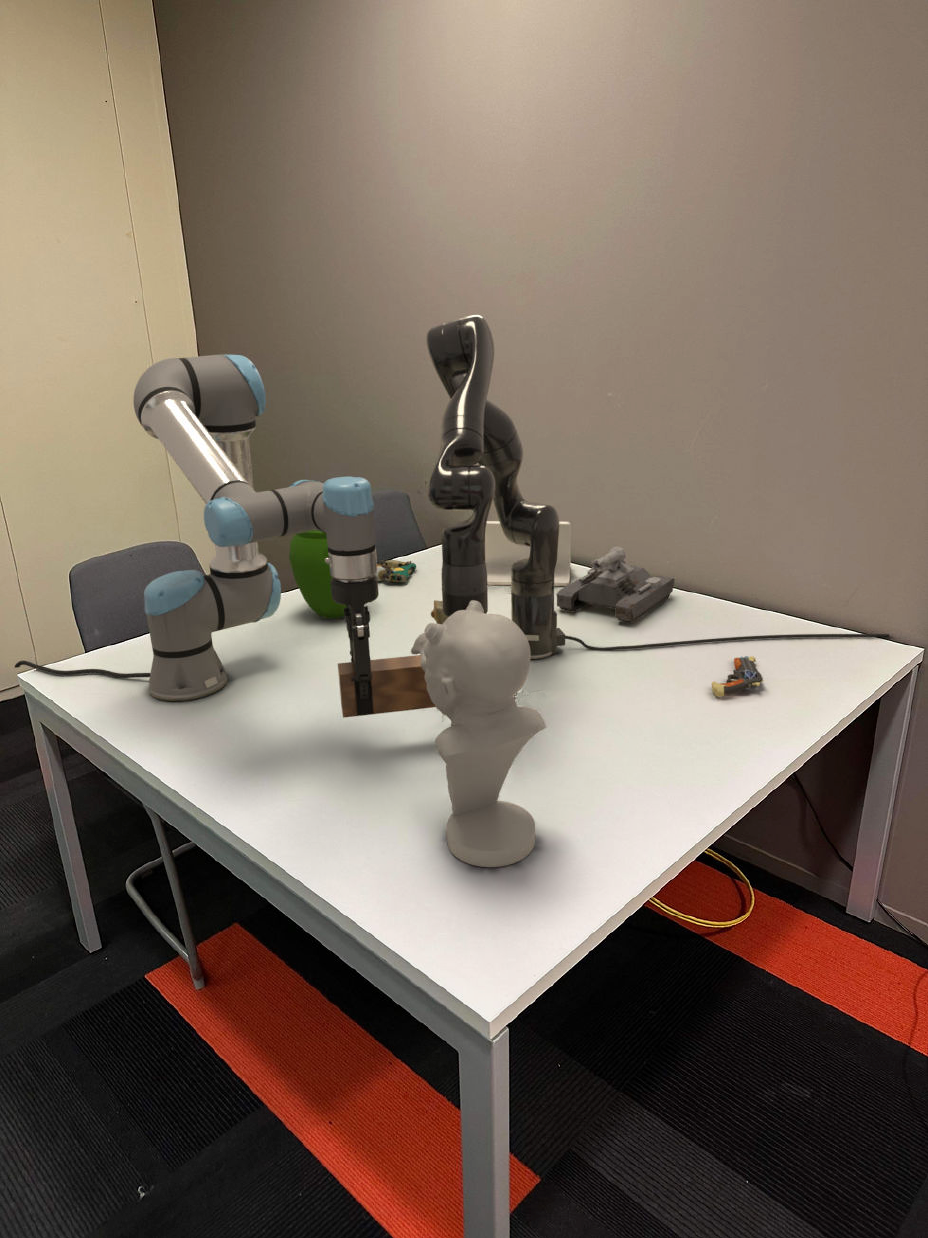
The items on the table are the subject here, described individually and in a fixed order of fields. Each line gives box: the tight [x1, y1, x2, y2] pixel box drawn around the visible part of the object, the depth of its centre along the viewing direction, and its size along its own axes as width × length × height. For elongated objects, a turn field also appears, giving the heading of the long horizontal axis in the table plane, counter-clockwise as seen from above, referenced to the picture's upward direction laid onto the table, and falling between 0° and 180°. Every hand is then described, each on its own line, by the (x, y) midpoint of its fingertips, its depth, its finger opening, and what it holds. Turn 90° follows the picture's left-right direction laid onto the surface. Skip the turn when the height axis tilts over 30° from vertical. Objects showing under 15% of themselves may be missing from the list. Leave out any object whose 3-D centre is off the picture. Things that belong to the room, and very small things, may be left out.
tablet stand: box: [485, 520, 572, 587], centre depth 236 cm, size 18×25×17 cm
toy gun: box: [711, 655, 765, 698], centre depth 171 cm, size 3×19×10 cm
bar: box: [337, 654, 436, 719], centre depth 145 cm, size 25×5×8 cm, turn 101°
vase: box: [288, 530, 347, 620], centre depth 209 cm, size 20×20×24 cm
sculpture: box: [430, 600, 448, 624], centre depth 177 cm, size 6×7×15 cm
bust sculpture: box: [410, 600, 547, 868], centre depth 121 cm, size 16×24×35 cm
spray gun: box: [375, 559, 417, 583], centre depth 241 cm, size 4×17×15 cm
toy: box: [556, 546, 676, 624], centre depth 212 cm, size 25×20×15 cm
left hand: (363, 706), depth 145 cm, fingers closed on bar, 5 cm apart
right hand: (467, 679), depth 147 cm, fingers closed on bar, 4 cm apart
